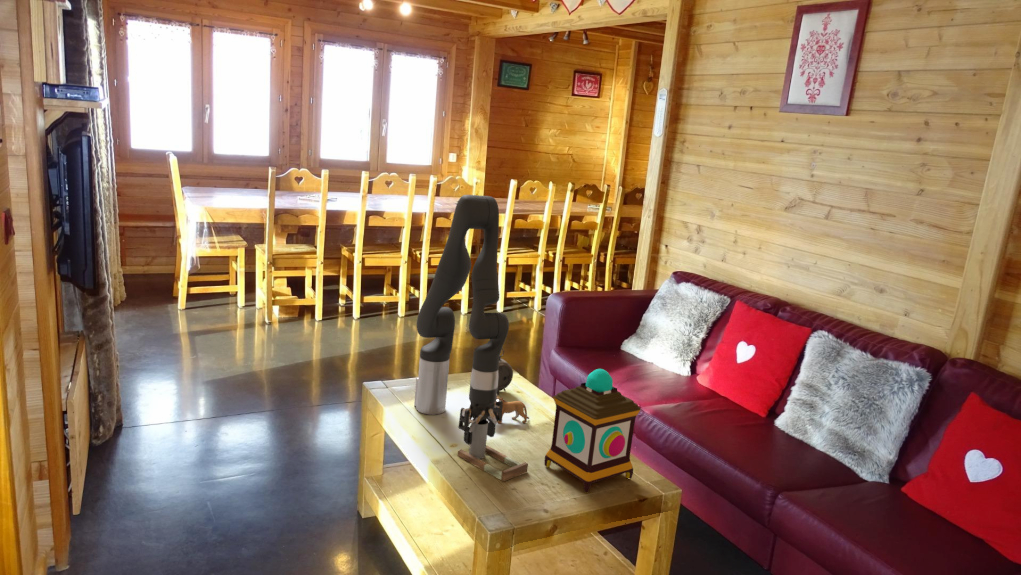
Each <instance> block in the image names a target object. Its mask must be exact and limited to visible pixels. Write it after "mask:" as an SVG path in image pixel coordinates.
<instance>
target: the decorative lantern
mask: <svg viewBox="0 0 1021 575" xmlns="http://www.w3.org/2000/svg"><path fill="white" fill-rule="evenodd" d="M613 383H614V382H613V377H612V376H611V375H610V373H609V372H608V371H607V370H605V369H603V368H597V369H594V370H593V371H592V372H590V373H589V374H588V376H586V381H585V382H581V383H580V385H578V386H576V387H574V388H569V389H564V390H562V391H561V392H557V393H556V395H553V397H552V398H553V401H554V403H555V415H554V421H553V432H552V438H551V439H552V440H551V447H550V448H549V449H548V451H547V452H546V454H545V456H544V462H543V463H544V467H546V468H549V467H551V464H552V463H553V464H555V465H556V466H558V467H559V468H561V469H563V470H564V471H565V472H567V473H569V474H570V475H572V476H573V477H575V478H577V479H578V480H580V481H581V482H582V483H583V492H584V493H585V494H588V493H589V491H590V489H591V486H592V485H593V484H594V483H596V482H597V483H598V482H600V481H603V480H606V479H610V478H613V477H616V476H620V475H623V474H625V478H631V479H632V478H633V475H634V468H633V463H632V461H631V457H630V456H631V450H632V443H633V437H634V431H635V424H636V423H635V422H636V418H637V416H638V415H639V413H640V411H641V410H642V409H641V407H640V406H639V404H637V403H636V402H635V401H634V400H633V399H631V398H629V397H627V396H625V395H624V394H623V395H622V393H621V392H620V391H619V390H618V388H617V387H615V386H613V385H614V384H613Z"/></svg>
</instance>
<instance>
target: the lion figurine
mask: <svg viewBox="0 0 1021 575" xmlns="http://www.w3.org/2000/svg"><path fill="white" fill-rule="evenodd" d="M497 399H498V400H501V401H502V402H503V407H502V418H503V416H504V415H505V414H511V413H514V412H515V416H513V417H511V419H512V420H517V419H518V418H519V417H521V418H522V419H524V420H522V421H521V422H522V423H523V424H526V423H527V422H528V420H529V419H530V416H528V412H527V407H526V404H525V403H524V402H523V401H519V400H514V401H507V400H505V399H504V398H503V397H500V396H499V395H497ZM492 411H493V410H492ZM497 415H498V412H497ZM502 423H503V419H502V420H501V421H498V422H497V424H499V425H501V424H502Z"/></svg>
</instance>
